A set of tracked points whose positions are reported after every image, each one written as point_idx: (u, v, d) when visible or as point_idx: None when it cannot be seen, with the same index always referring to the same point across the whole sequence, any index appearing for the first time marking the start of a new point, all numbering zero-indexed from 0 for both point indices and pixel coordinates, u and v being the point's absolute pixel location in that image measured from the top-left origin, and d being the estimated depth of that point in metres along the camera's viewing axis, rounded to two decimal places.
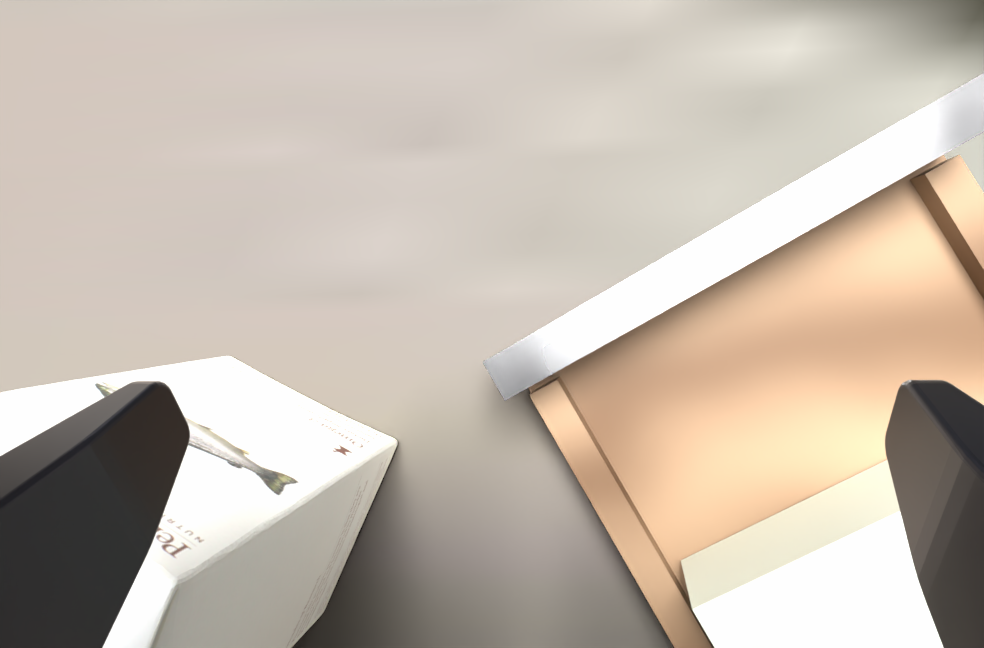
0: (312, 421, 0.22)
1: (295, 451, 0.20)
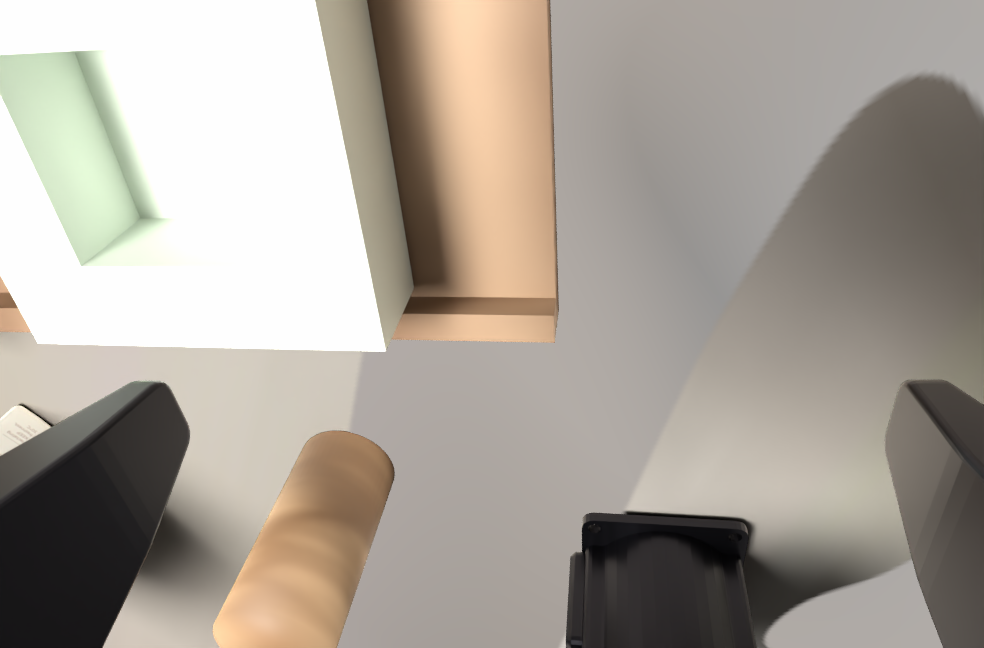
0: None
1: None
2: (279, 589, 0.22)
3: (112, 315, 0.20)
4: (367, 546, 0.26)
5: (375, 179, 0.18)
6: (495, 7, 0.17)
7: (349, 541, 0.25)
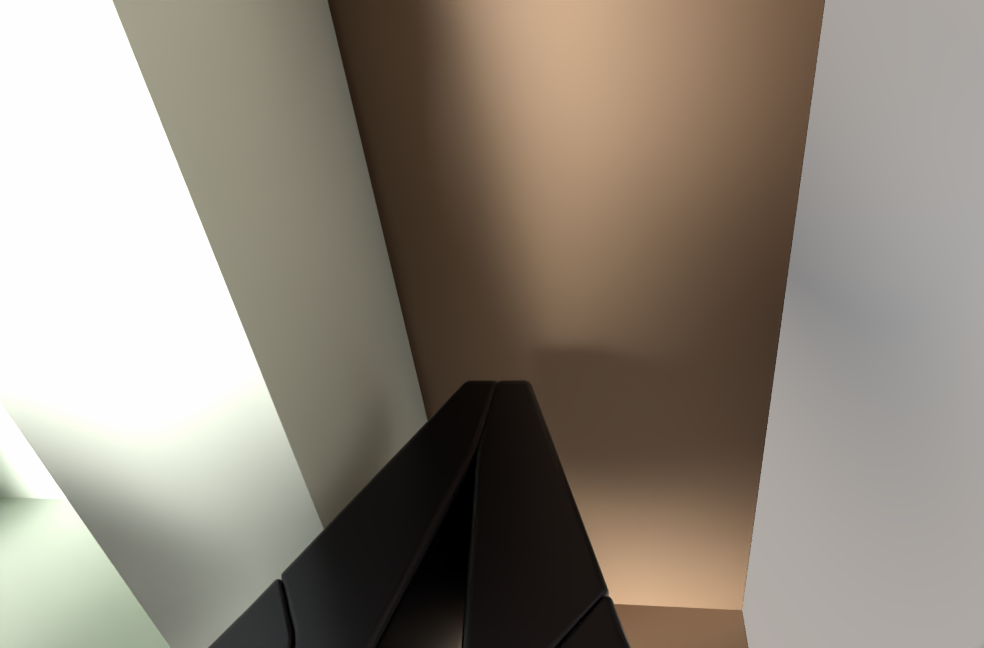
0: None
1: None
2: None
3: None
4: None
5: None
6: (682, 161, 0.08)
7: None
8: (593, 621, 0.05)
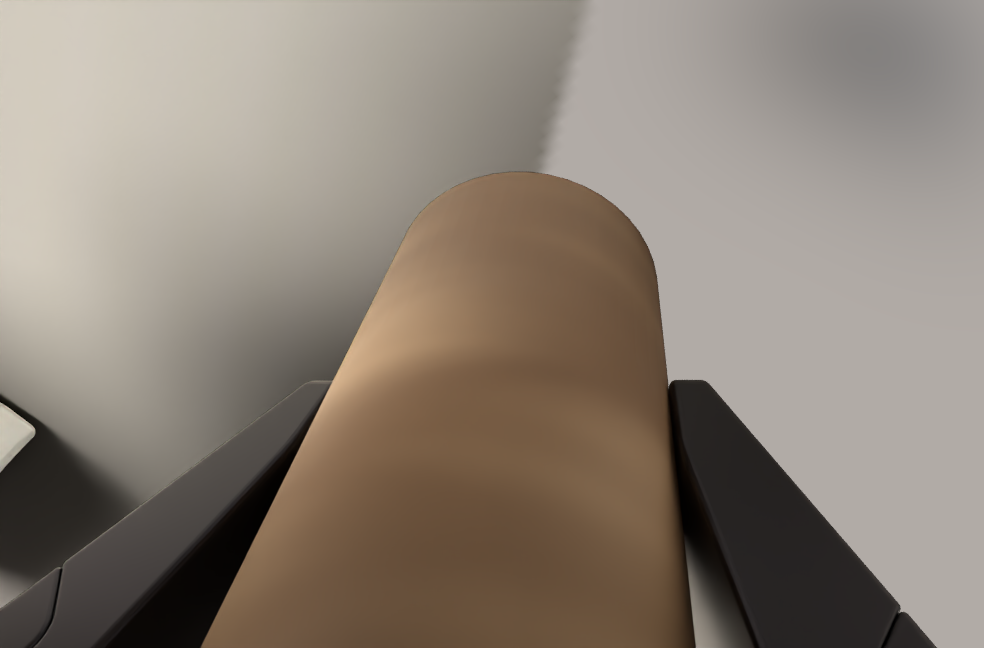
0: None
1: None
2: None
3: None
4: None
5: None
6: None
7: (655, 472, 0.06)
8: (902, 639, 0.05)
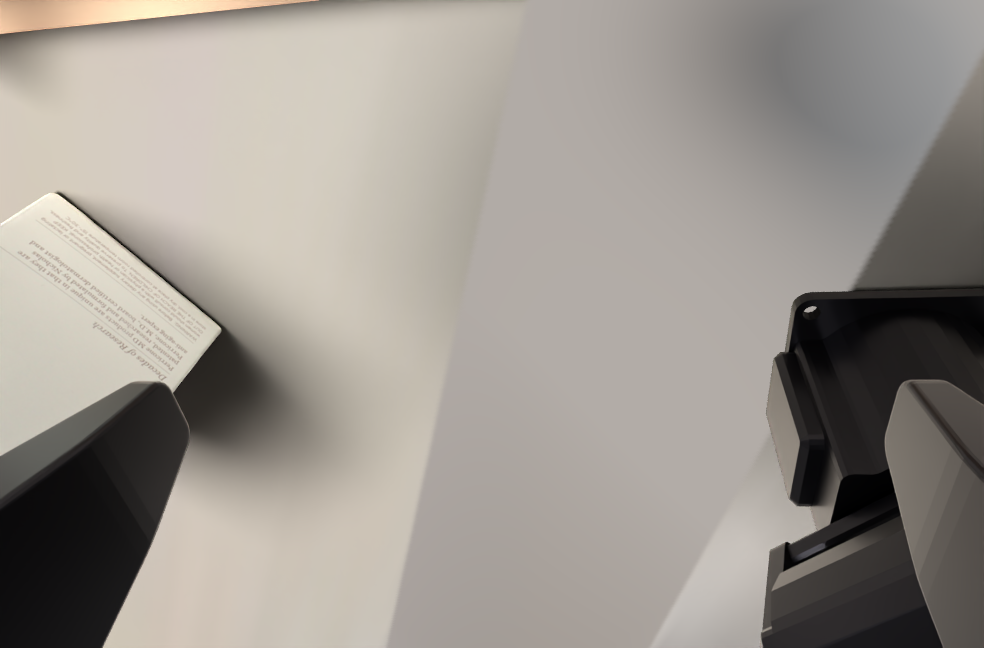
0: None
1: None
2: None
3: None
4: None
5: None
6: None
7: None
8: None
